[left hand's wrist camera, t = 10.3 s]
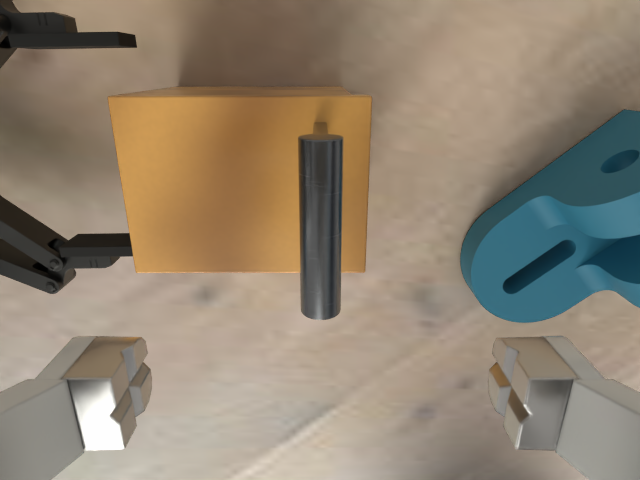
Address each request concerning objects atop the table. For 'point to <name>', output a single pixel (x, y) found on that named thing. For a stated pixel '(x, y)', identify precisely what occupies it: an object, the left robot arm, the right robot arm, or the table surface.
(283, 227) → the lid
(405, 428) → the table surface
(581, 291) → the blue clevis bracket
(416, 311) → the table surface
